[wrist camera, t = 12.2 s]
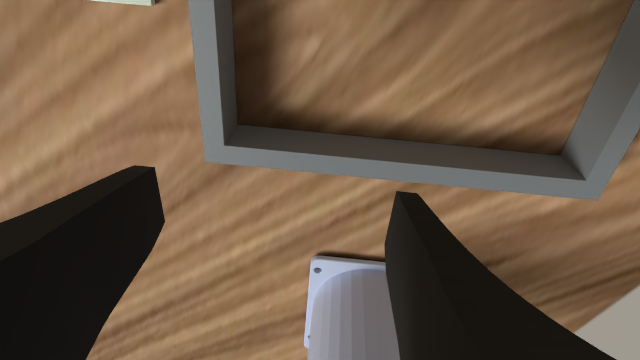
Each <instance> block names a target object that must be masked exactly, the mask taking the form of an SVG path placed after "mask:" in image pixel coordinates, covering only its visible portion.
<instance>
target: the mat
mask: <svg viewBox="0 0 640 360" xmlns="http://www.w3.org/2000/svg"><path fill="white" fill-rule="evenodd" d="M93 1H104V2H115V3H126V4H136V5H147V6H153V5H155V0H93Z"/></svg>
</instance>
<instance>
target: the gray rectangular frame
mask: <svg viewBox="0 0 640 360" xmlns="http://www.w3.org/2000/svg"><path fill="white" fill-rule="evenodd" d="M188 4H189V14H190V23H191V33H192V42H193V52H194V62H195V71H196V81H197V91H198V100H199V110H200V119H201V129H202V139H203V148H204V158H205V162H211V163H221V164H231V165H241V166H251V167H262V168H272V169H282V170H292V171H302V172H312V173H323V174H333V175H343V176H353V177H363V178H373V179H384V180H394V181H404V182H414V183H424V184H435V185H445V186H455V187H465V188H475V189H485V190H496V191H506V192H516V193H526V194H536V195H546V196H557V197H567V198H577V199H587V200H597V201H598V199H599V197H600V196H601V194H602V192H603V191H604V189H605V187H606V185H607V184H608V182H609V180H610V178H611V177H612V175H613V173H614V172H615V170H616V168H617V166H618V165H619V163H620V161H621V159H622V158H623V156H624V154H625V153H626V151H627V149H628V147H629V146H630V144H631V142H632V141H633V139H634V137H635V135H636V134H637V132H638V130H639V128H640V0H634V1H633V3H632V6H631V8H630V10H629V12H628V14H627V16H626V18H625V20H624V22H623V24H622V27H621V29H620V31H619V33H618V35H617V37H616V39H615V41H614V43H613V46H612V48H611V50H610V52H609V54H608V56H607V58H606V60H605V62H604V64H603V67H602V69H601V71H600V73H599V75H598V77H597V79H596V81H595V83H594V85H593V88H592V90H591V92H590V94H589V96H588V98H587V100H586V102H585V104H584V106H583V109H582V111H581V113H580V115H579V117H578V119H577V121H576V123H575V125H574V127H573V130H572V132H571V134H570V136H569V138H568V140H567V142H566V144H565V146H564V148H563V151H562V153H561V155H560V156H559V155H548V154H538V153H528V152H517V151H507V150H497V149H486V148H476V147H466V146H455V145H445V144H434V143H424V142H414V141H403V140H393V139H383V138H372V137H362V136H352V135H341V134H331V133H320V132H310V131H300V130H289V129H279V128H269V127H258V126H248V125H238V124H237V104H236V83H235V62H234V41H233V20H232V0H188Z"/></svg>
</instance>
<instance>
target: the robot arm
mask: <svg viewBox="0 0 640 360" xmlns="http://www.w3.org/2000/svg"><path fill="white" fill-rule="evenodd" d="M164 223H165V219H164V214H163V209H162V203H161V198H160V193H159V188H158V182H157V177H156V172H155V167H146V166H136V165H134V166H131V167H129V168H126V169H123V170H121V171H119V172H116V173H114V174H112V175H110V176H108V177H105V178H103V179H101V180H99V181H97V182H95V183H93V184H90V185H88V186H86V187H84V188H82V189H80V190H78V191H75V192H73V193H71V194H69V195H67V196H65V197H62V198H60V199H58V200H55V201H53V202H51V203H48V204H46V205H44V206H41V207H39V208H37V209H34V210H32V211H30V212H27V213H25V214H22V215H20V216H17V217H15V218H12V219H9V220H7V221H4V222H1V223H0V360H86V358H87V356H88V354H89V352H90V350H91V348H92V346H93V345H94V343H95V341H96V339H97V337H98V335H99V333H100V331H101V329H102V327H103V325H104V324H105V322H106V320H107V319H108V317H109V315H110V314H111V312H112V311H113V309H114V308H115V306H116V305H117V303H118V301H119V300H120V298H121V297H122V295H123V294H124V292H125V291H126V289H127V288H128V286H129V285H130V283H131V282H132V280H133V279H134V277H135V276H136V274H137V273H138V271H139V269H140V268H141V266H142V265H143V263H144V262H145V260H146V259H147V257H148V255H149V254H150V252H151V251H152V249H153V247H154V245H155V243H156V241H157V238H158V236H159V234H160V232H161V230H162V227H163V225H164ZM316 268H320V269H316ZM304 346H305V347H306V348H308V358H307V360H616V359H614V358H613V357H611V356H609V355H607V354H606V353H604V352H602V351H600V350H599V349H597V348H596V347H594V346H593V345H591V344H589V343H588V342H586V341H585V340H583V339H581V338H580V337H578V336H577V335H575V334H573V333H572V332H570V331H569V330H567V329H566V328H564V327H563V326H561V325H560V324H558V323H557V322H555V321H554V320H552V319H551V318H549V317H548V316H547V315H545V314H544V313H542V312H541V311H540V310H538V309H537V308H536V307H534V306H533V305H531V304H530V303H529V302H527V301H526V300H525V299H523V298H522V297H521V296H519V295H518V294H517V293H516V292H514V291H513V290H512V289H510V288H509V287H508V286H507V285H506V284H505V283H503V282H502V281H501V280H500V279H499V278H497V277H496V276H495V275H494V274H493V273H491V272H490V271H489V270H488V269H487V268H486V267H485V266H484V265H483V264H481V263H480V262H479V261H478V260H477V259H476V258H475V257H474V256H473V255H472V254H471V253H470V252H469V251H468V250H467V249H466V248H465V247H464V246H463V245H462V244H461V243H460V242H459V241H458V240H457V239H456V237H455V236H454V235H453V234H452V233H451V232H450V231H449V230H448V229H447V228H446V226H445V225H444V224H443V223H442V222H441V221H440V220H439V218H438V217H437V216H436V215H435V214H434V213H433V211H432V210H431V209H430V208H429V207H428V205H427V204H426V203H425V202H424V201H423V199H422V198H421V197H420V196H419V195H418V194H417V193H409V192H399V191H396V195H395V200H394V204H393V209H392V213H391V218H390V222H389V227H388V231H387V236H386V240H385V262H378V261H368V260H358V259H349V258H339V257H329V256H314V257H313V258H312V259H311V265H310V277H309V289H308V301H307V313H306V325H305V337H304Z"/></svg>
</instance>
